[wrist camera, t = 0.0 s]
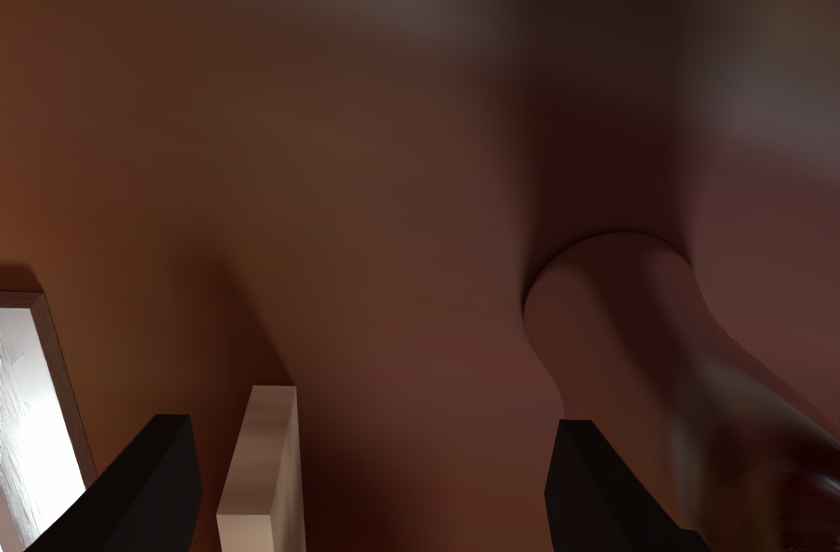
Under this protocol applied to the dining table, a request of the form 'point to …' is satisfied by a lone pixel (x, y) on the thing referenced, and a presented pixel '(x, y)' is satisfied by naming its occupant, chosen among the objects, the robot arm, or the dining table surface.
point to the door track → (36, 425)
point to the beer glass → (684, 399)
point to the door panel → (265, 478)
